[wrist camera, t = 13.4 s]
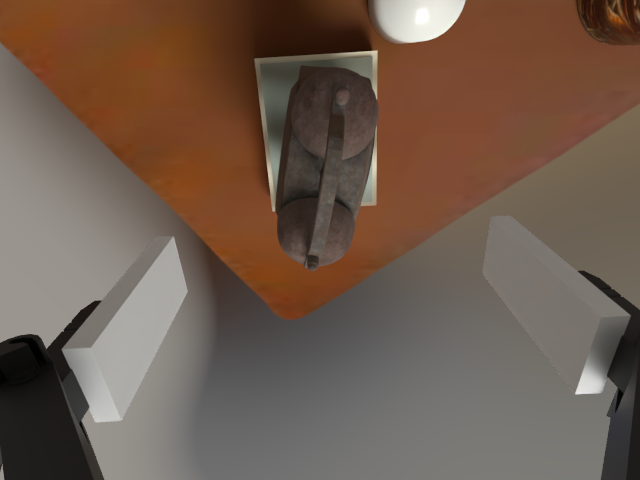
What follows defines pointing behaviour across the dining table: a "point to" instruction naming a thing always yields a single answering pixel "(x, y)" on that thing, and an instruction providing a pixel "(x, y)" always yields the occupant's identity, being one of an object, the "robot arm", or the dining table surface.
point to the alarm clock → (324, 163)
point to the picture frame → (274, 97)
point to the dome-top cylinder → (413, 18)
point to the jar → (611, 20)
